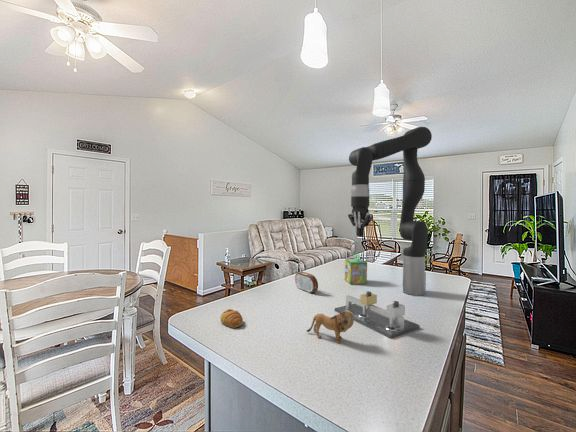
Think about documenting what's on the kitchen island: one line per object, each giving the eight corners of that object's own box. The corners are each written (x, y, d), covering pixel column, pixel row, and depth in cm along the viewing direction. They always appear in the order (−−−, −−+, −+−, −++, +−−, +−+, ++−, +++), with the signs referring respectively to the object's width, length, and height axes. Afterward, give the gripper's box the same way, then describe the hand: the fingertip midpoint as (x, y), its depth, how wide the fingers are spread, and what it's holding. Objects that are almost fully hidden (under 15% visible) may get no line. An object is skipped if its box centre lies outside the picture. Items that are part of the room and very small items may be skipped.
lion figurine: (355, 338, 84) (355, 308, 84) (351, 346, 79) (352, 315, 79) (309, 329, 90) (309, 302, 90) (303, 336, 85) (303, 307, 85)
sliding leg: (370, 310, 102) (370, 289, 102) (376, 313, 99) (376, 292, 99) (360, 313, 99) (360, 292, 99) (366, 316, 97) (366, 294, 97)
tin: (318, 294, 127) (318, 275, 126) (313, 295, 125) (313, 276, 125) (299, 286, 139) (299, 269, 139) (293, 287, 137) (293, 270, 137)
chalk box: (344, 280, 151) (344, 252, 150) (360, 279, 152) (361, 252, 151) (350, 284, 142) (350, 255, 141) (367, 284, 143) (367, 255, 142)
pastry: (248, 326, 93) (248, 314, 93) (229, 331, 89) (229, 319, 89) (235, 317, 101) (235, 306, 101) (218, 321, 97) (217, 311, 97)
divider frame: (352, 304, 110) (352, 284, 110) (407, 328, 88) (407, 302, 88) (342, 306, 108) (342, 285, 107) (396, 331, 86) (397, 305, 86)
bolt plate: (361, 304, 113) (361, 301, 113) (419, 328, 91) (419, 324, 91) (334, 310, 106) (334, 307, 106) (390, 338, 84) (390, 334, 84)
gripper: (378, 195, 114) (378, 237, 115) (355, 196, 126) (355, 234, 126) (365, 195, 111) (365, 238, 111) (342, 196, 122) (342, 235, 123)
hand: (359, 236), depth 119 cm, fingers closed
